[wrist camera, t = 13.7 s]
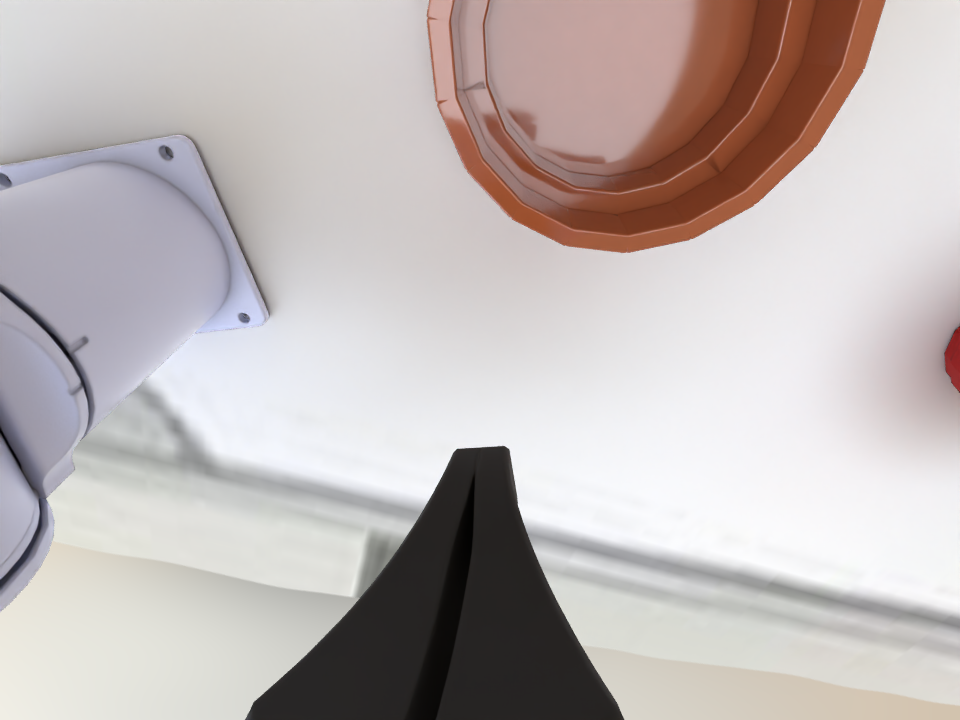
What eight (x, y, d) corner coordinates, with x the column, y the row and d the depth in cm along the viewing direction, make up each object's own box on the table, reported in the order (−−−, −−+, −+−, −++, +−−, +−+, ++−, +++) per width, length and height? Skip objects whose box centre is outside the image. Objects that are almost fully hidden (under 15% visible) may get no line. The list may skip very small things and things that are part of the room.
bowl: (652, 254, 20) (685, 307, 16) (400, 122, 18) (368, 148, 14) (882, -63, 14) (1016, -96, 10) (552, -311, 12) (570, -467, 8)
